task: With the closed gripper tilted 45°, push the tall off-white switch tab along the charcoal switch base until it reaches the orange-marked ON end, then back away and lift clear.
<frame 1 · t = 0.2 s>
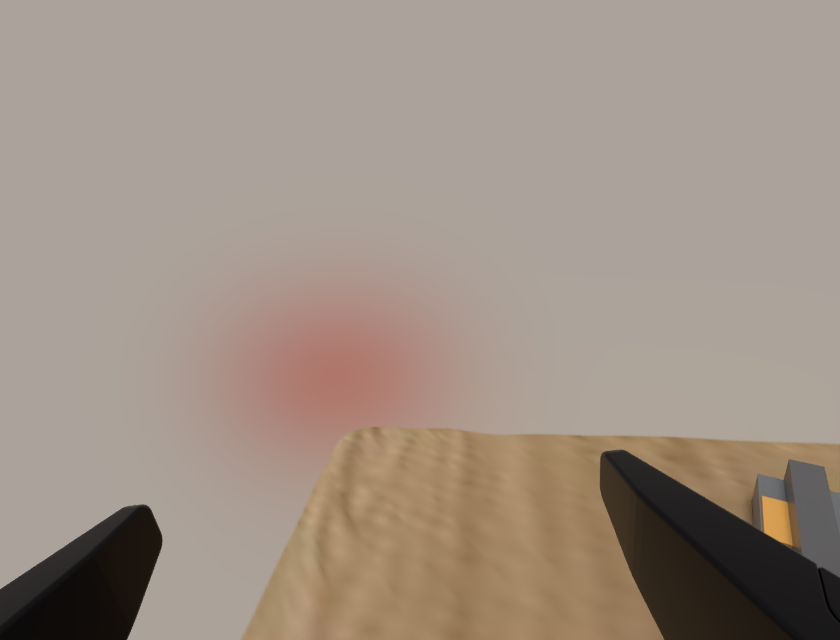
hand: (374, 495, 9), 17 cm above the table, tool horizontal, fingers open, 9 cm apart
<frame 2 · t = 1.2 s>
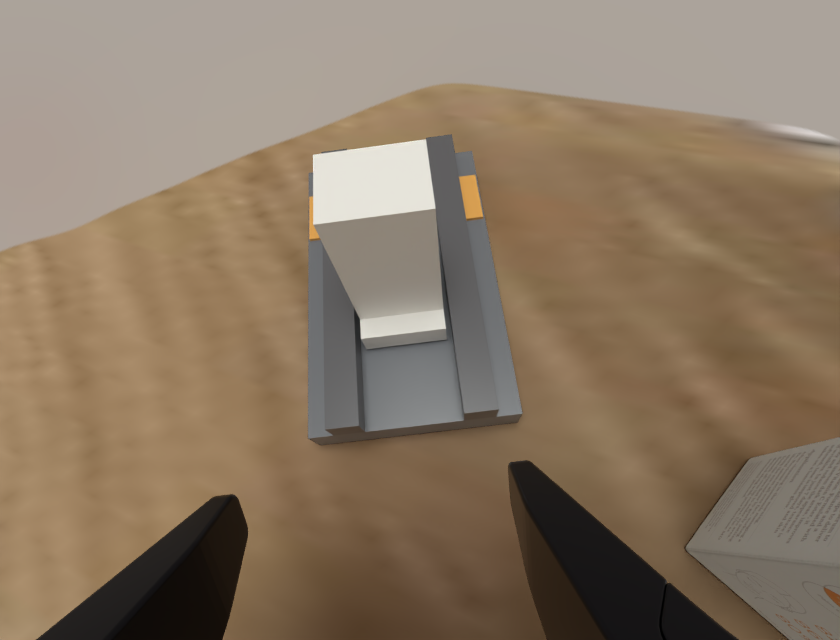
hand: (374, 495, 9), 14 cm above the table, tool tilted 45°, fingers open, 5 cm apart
small box: (797, 569, 19), on the table
switch base: (404, 293, 26), on the table
switch tab: (390, 252, 19), point 7 cm above the table, slide at 0.0 cm
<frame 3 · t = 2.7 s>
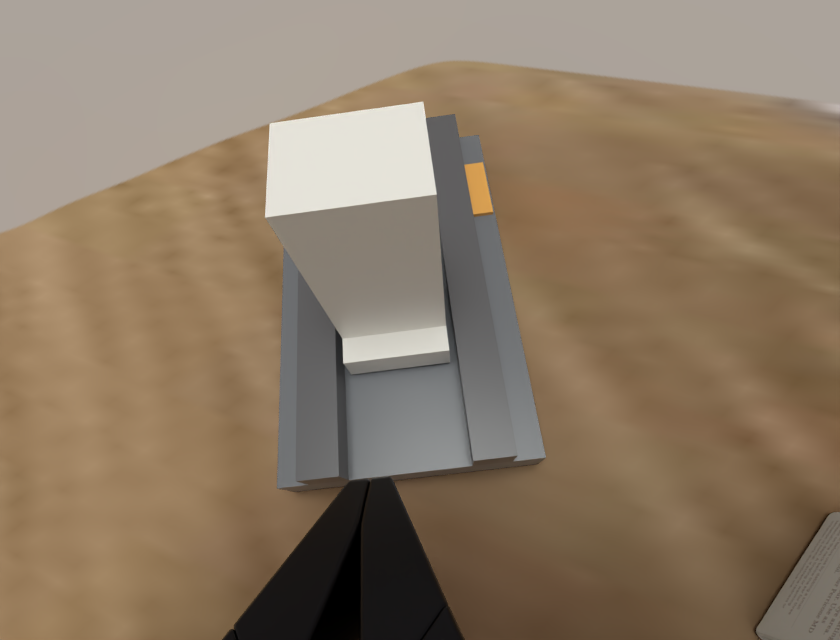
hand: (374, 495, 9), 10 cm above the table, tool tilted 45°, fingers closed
switch base: (399, 303, 22), on the table
switch tab: (378, 255, 15), point 7 cm above the table, slide at 0.0 cm
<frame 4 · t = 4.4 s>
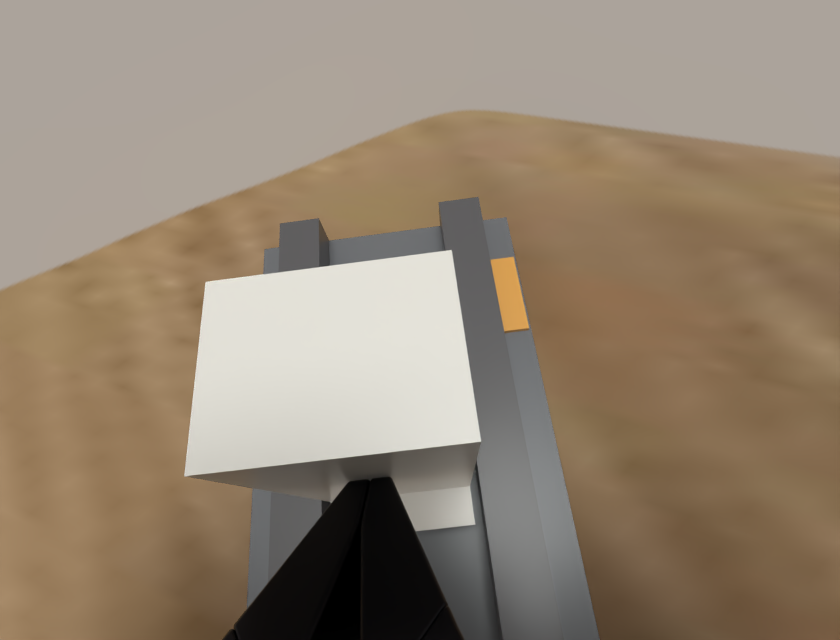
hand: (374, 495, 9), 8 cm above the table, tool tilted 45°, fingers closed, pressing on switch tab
switch base: (406, 439, 17), on the table
switch tab: (379, 418, 11), point 7 cm above the table, slide at 0.9 cm, touching gripper
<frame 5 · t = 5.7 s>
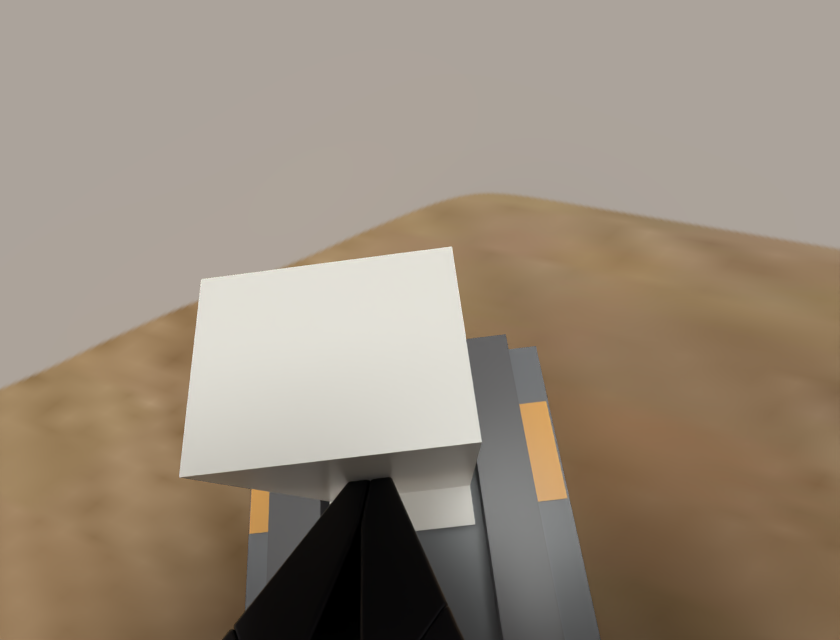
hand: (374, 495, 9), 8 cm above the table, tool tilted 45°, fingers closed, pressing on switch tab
switch base: (422, 618, 15), on the table
switch tab: (378, 417, 11), point 7 cm above the table, slide at 6.6 cm, touching gripper
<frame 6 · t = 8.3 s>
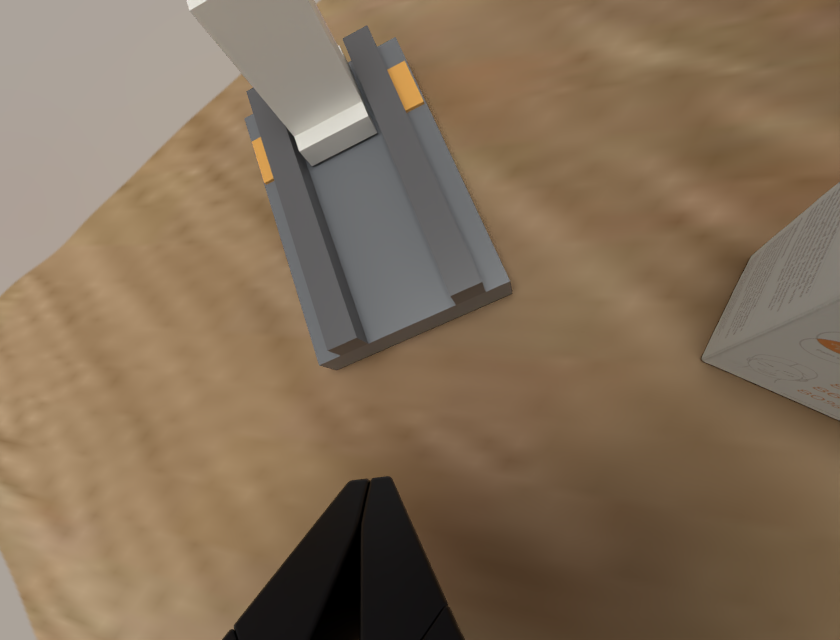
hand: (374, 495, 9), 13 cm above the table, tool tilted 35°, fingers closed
small box: (819, 347, 19), on the table
switch base: (372, 206, 26), on the table
switch tab: (289, 51, 21), point 7 cm above the table, slide at 6.5 cm
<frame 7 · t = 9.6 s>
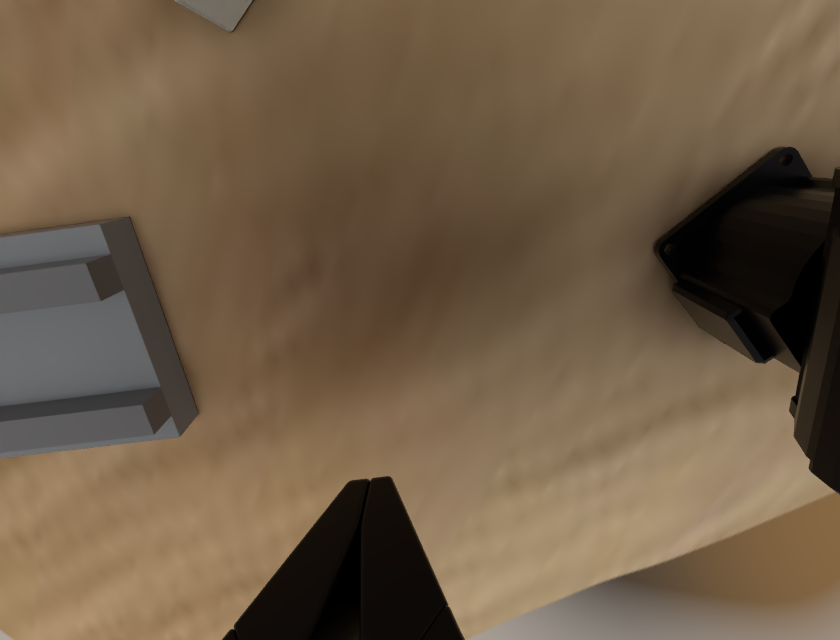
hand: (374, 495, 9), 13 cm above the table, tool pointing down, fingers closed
switch base: (3, 344, 22), on the table
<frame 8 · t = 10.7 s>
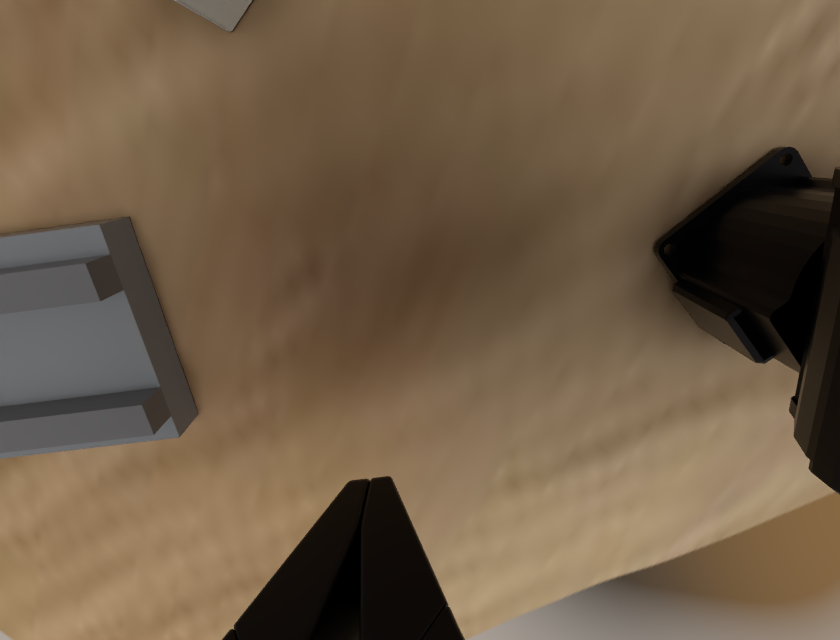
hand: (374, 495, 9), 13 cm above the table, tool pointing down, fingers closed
switch base: (3, 344, 22), on the table
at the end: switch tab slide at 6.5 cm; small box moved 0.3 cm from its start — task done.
